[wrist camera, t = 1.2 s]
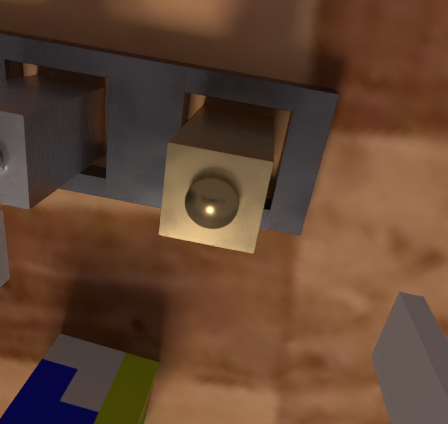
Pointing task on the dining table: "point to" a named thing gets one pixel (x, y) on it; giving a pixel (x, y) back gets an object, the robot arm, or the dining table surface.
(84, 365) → the puzzle toy
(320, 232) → the dining table surface
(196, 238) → the tan block with knob
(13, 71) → the grey flat plate
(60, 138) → the silver block with knob
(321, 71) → the dining table surface
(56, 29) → the dining table surface
